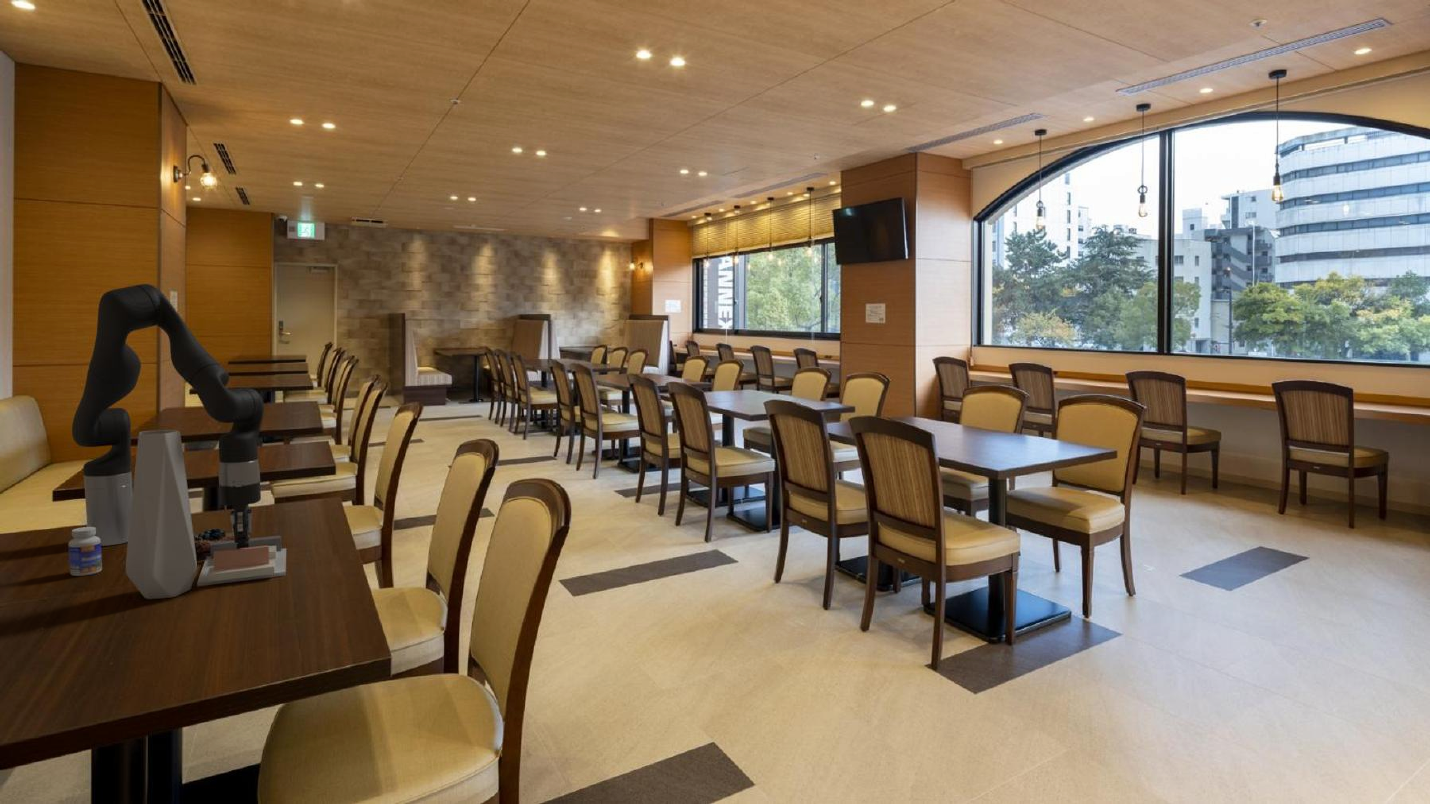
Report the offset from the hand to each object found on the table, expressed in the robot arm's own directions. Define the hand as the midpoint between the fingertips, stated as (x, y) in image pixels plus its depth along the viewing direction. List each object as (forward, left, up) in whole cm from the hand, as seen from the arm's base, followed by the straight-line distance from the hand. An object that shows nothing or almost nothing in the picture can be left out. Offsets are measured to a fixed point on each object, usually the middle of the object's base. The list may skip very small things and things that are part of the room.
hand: (243, 559), depth 166 cm
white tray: (-5, 0, -3) cm, 6 cm away
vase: (+6, -13, -4) cm, 15 cm away
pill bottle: (-16, -30, -4) cm, 34 cm away
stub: (+4, 0, -2) cm, 4 cm away
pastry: (-22, -8, -4) cm, 24 cm away
